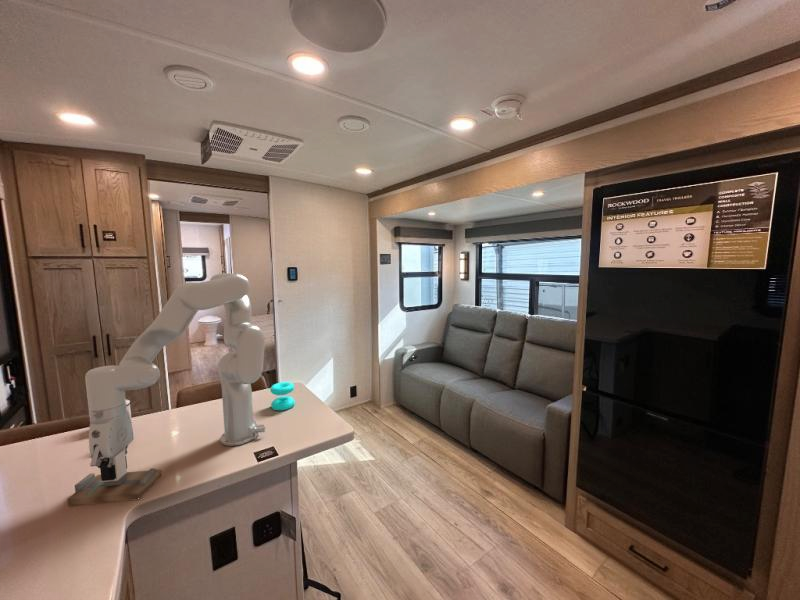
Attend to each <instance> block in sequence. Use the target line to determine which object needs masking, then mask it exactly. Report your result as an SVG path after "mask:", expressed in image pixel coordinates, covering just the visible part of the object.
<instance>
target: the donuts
mask: <svg viewBox="0 0 800 600" xmlns="http://www.w3.org/2000/svg"><path fill="white" fill-rule="evenodd" d="M294 390H295V384H294V383H292V382H290V381H284V382H283V381H282V382H278V383H275V384H272V385H271V387H270V390H269V392H270V393H271V394H272V395H275V396H278V397H276V398H275V399H274V400H273V401H272V402H271V403H270V404H271V405H270V406H271V408H272V409H273V410H275V411H285V410H289V409H291V408H293V407H294V406H295V404H296V401H295V399H294V397H292V396H287V395H288V394H291V393H292V392H293V391H294Z"/></svg>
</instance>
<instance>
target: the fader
mask: <svg viewBox="0 0 800 600" xmlns="http://www.w3.org/2000/svg"><path fill="white" fill-rule="evenodd" d="M125 456H126V455H125V449H122V450H121V451H120V452H119V453H117V454H116V455H115V456H113V465H115V473H116V478H115V479H114V480H108V481H103V482H104V486H114V485H121V484H122V483H123V482H124V481H125V480H126V479H127V472H128V468H127V469H126V460H127V458H126V459H125ZM104 461H107V458H105V459H104Z"/></svg>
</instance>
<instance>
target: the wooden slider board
mask: <svg viewBox="0 0 800 600" xmlns="http://www.w3.org/2000/svg"><path fill="white" fill-rule="evenodd" d="M161 477H162V469H156V468H154V467H153V468H150V469H149V470H140V471H139V470H138V471H127V479H126V480H125V481H124V482H123V483H122V484H121V485H114V486H104V482H103V481H102V480H101V474H96V473H89V474H88V475H86V476H85V477H84V478H82V479H81V480H80V481H78V482H77V483H76V484H75V485H74V492H73V493H72V495H70V496H69V497H68V498H67V499H66V500H67V506H68V507H72V506H73V507H74V506H83V505H93V503H95V504H104V503H105V504H106V503H116V502H124V501H123V500H126V501H132V500H131V499H137V500H139V499H138V498H140V497H141V496H142V495H143V494H144V493H145V492H146V491H147V492H148V491H149V490H150V488H151V487H152V486H154V484H155V483H156V482H157V481H158V480H159V479H160V478H161ZM157 479H158V480H157ZM156 480H157V481H156ZM155 481H156V482H155ZM154 482H155V483H154ZM145 494H146V493H145ZM145 494H144V495H145ZM144 495H143V496H144ZM143 496H142V497H143ZM142 497H141V498H142ZM141 498H140V499H141ZM115 501H116V502H115Z"/></svg>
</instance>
